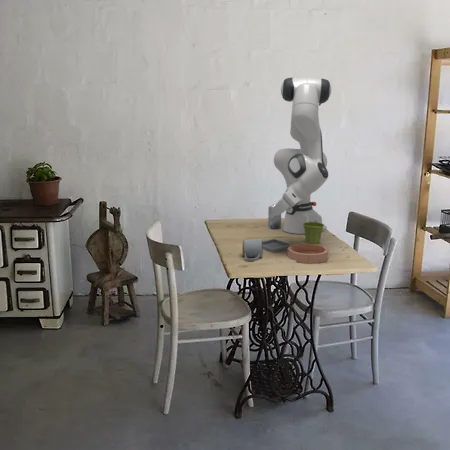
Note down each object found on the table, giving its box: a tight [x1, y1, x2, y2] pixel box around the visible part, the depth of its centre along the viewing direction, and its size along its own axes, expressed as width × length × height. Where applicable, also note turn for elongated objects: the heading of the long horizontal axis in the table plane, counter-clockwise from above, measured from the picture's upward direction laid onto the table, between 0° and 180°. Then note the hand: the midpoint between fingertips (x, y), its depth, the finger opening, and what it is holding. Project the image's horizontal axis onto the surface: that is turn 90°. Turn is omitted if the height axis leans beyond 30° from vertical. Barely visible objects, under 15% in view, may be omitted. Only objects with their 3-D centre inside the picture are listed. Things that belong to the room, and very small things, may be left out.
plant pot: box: [303, 222, 325, 245], centre depth 253 cm, size 9×9×9 cm
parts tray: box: [262, 238, 295, 253], centre depth 246 cm, size 12×12×2 cm
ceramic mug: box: [242, 238, 264, 263], centre depth 232 cm, size 11×8×8 cm
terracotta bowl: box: [286, 243, 329, 264], centre depth 234 cm, size 16×16×4 cm
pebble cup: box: [267, 204, 282, 231], centre depth 243 cm, size 5×5×10 cm
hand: (273, 215), depth 244 cm, fingers closed on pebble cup, 5 cm apart
